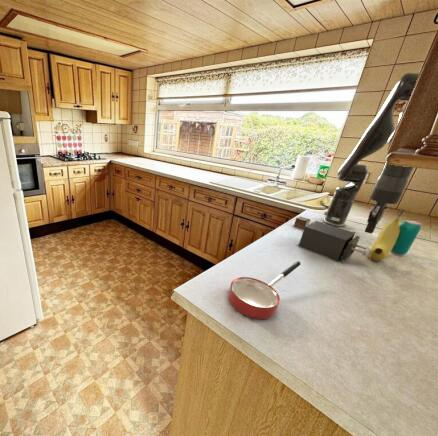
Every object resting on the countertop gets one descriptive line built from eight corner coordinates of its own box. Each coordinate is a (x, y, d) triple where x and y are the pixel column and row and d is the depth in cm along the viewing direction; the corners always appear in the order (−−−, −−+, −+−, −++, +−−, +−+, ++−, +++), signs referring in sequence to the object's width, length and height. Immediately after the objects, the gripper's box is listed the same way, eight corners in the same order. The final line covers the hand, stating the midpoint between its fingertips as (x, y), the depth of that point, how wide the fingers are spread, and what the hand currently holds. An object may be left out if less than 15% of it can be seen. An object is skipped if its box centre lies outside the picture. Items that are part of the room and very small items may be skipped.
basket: (367, 258, 95) (375, 241, 92) (359, 267, 89) (367, 249, 86) (317, 240, 108) (322, 225, 105) (307, 246, 102) (312, 230, 99)
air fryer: (346, 252, 101) (355, 232, 97) (337, 261, 94) (346, 240, 90) (309, 239, 111) (316, 220, 108) (298, 245, 104) (304, 226, 100)
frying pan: (268, 264, 89) (272, 250, 86) (306, 282, 79) (312, 266, 77) (219, 299, 69) (223, 282, 67) (262, 328, 60) (268, 309, 58)
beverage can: (397, 250, 105) (414, 220, 99) (409, 257, 100) (427, 225, 94) (383, 249, 106) (399, 218, 100) (394, 255, 100) (411, 224, 95)
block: (297, 224, 128) (300, 216, 126) (307, 228, 124) (310, 219, 122) (293, 226, 125) (296, 218, 123) (303, 230, 121) (306, 221, 119)
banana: (381, 268, 90) (405, 221, 82) (362, 261, 94) (383, 216, 86) (390, 252, 103) (412, 210, 96) (373, 246, 107) (393, 205, 100)
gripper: (400, 193, 76) (377, 240, 82) (406, 188, 83) (385, 232, 90) (370, 188, 81) (351, 232, 88) (378, 184, 89) (360, 225, 95)
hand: (368, 232), depth 89 cm, fingers closed
